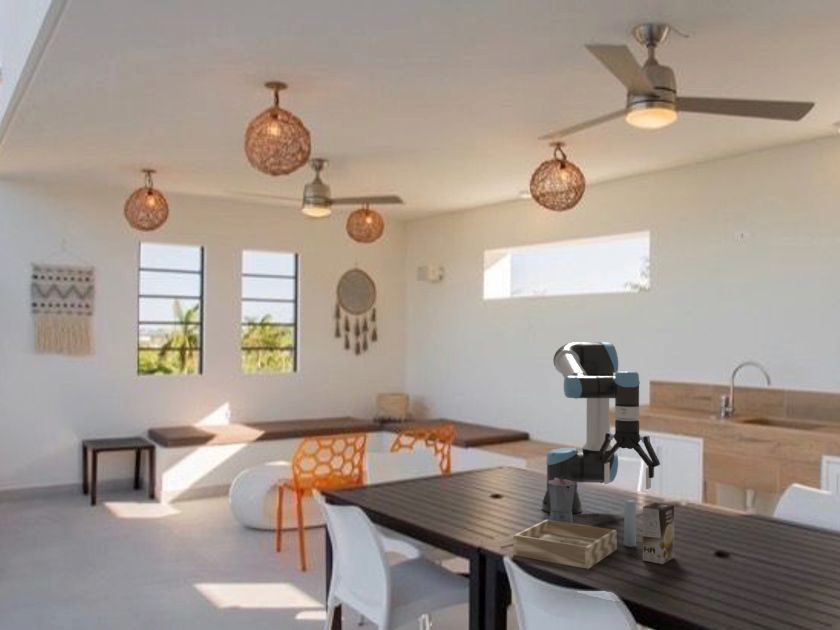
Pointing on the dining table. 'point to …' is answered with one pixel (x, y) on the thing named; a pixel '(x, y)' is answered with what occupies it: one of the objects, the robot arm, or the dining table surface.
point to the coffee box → (658, 532)
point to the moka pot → (561, 499)
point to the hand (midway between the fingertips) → (627, 485)
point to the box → (565, 543)
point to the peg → (630, 523)
